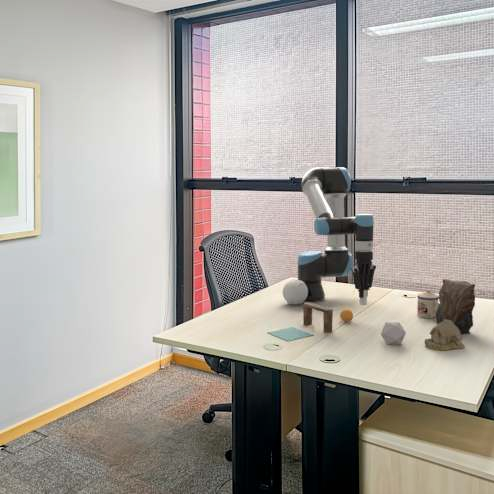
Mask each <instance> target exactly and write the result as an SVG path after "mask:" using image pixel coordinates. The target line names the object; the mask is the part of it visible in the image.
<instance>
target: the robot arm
mask: <svg viewBox="0 0 494 494" xmlns="http://www.w3.org/2000/svg"><path fill="white" fill-rule="evenodd" d="M351 181H352V179H351V175H350V172H349V170H348V169H347V168H345V167H339V166H334V167H333V166H330V167H314V168H310V169H309V170H308V171H307V172H306V173H305V174H304V175H303V176H302V180H301V182H300V183H301V185H300V186H301V190H302V193H303V194H304V195H305V196H306V197H307V200H308V202H309V204H310V205H309V206H310V207H311V209H312V212H313V215H314V217H315V219H314V223H313V229H314V232H315V235H318V236H326V237H327V238H326V240H327V241H326V242H327V246H326V248H325V249H324V253H323V252H322V251H320V250H309V251H304V252H301V253H300V254H298V256H297V264H296V265H297V280H300V281H303V282H304V283H305V284H306V286H307V288H308V295H307V298H306V300H305V301H304V303H307V302H310V303H314V302H321V301H322V302H323V301H324V300H325V298H326V297H325V296H326V294H325V292H324V291H325V290H324V287H323V284H322V278H334V277H336V278H337V277H338V278H341V277H347V276H349V275H350V273H351V272H352V277H353V282H354V288H355V289H356V290H358V298H359V305H360V306H367V305H368V304H367V303H368V301H367V300H368V299H367V298H368V297H369V296H368V294H369V292H368V291H369V290H371V288H372V287H373V281H374V275H375V271H376V268H377V266H376V265H374V264H373V259H374V251H373V249H374V223H375V222H374V216H373V214H371V213H358V214H356V215H354V216H348V217H347V216H346V217H345V197H346V195H348V194H347V193H348V191H350V190H351V185H352V182H351ZM345 235H346V236H347V235H355V236H354V240H355V241H354V250H355V251H354V258H353V254H352V253H351V252H349V249H348V248H347V247H346V242H345V241H346V238H345ZM353 259H355V264H354V267H353V263H354V260H353Z"/></svg>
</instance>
